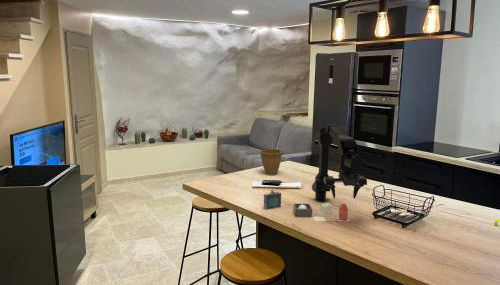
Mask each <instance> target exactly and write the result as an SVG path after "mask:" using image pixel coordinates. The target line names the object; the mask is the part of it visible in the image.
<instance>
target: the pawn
mask: <svg viewBox="0 0 500 285" xmlns="http://www.w3.org/2000/svg"><path fill="white" fill-rule="evenodd" d="M348 213H349V209H348V206H347V204H346V203H341V204H340V206H339V208H338V217H339V219H340V220H348V219H349V218H348V217H349V214H348Z"/></svg>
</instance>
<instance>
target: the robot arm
mask: <svg viewBox="0 0 500 285" xmlns="http://www.w3.org/2000/svg"><path fill="white" fill-rule="evenodd" d="M315 134H316V141H317V143H318V145H319V155H318V157H319V158H318V173H317V174H316V175H315V177H314V182H313V184H312V185H311V190H312V191H313V192H314V193H315V195H314V200H315V201H316V202H319V203H324V202H325V203H326V201H327V192H331V194H332V198H333V199H336V185H335V184H336V183H343V186H345V187H348V186H350V187H353V194H352V196H353V197H352V198H353V199H356V197H357V195H358V192H359V190H360V189H361V188H363V187H364V186H367V185H368V179H367V178H366V177H365V176H363V175H360V174H359V173H357V174H356V173H355V174H354V172H358V171H360V170H361V169H362V168H363V161H362V159H361V158H359V157H360V156H359V155H360V152H359V151H360V150H359V146H358V144H357V141H356V140H355V138H353V137H352V136H348V135H346V134H344V133H343V132H342V130H340V128H338V126H337V125H336V124H327V125H325V126H324V127H322V128H319V129H318V130H317V132H316V133H315ZM334 141H335V142H336V147H337V149H338V154H339V165H338V175H337V176H338V177H337V178H334V176H333V175H329V157H330V147H331V146H332V143H333V142H334Z"/></svg>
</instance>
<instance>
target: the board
mask: <svg viewBox="0 0 500 285" xmlns="http://www.w3.org/2000/svg"><path fill="white" fill-rule="evenodd" d="M312 218H313V219H314V221H315V222H326V221H327V222H338V221H339V222H350V219H349V218H348V220H340V219H339V216H312Z"/></svg>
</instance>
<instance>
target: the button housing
mask: <svg viewBox="0 0 500 285" xmlns="http://www.w3.org/2000/svg"><path fill="white" fill-rule="evenodd" d="M300 205H305V206H306V207H307V209H298V207H299V206H300ZM292 206H293V209H292V210H293V215H294V217H296V218H313V208H312V206H311V204H310V203H293V205H292Z"/></svg>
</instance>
